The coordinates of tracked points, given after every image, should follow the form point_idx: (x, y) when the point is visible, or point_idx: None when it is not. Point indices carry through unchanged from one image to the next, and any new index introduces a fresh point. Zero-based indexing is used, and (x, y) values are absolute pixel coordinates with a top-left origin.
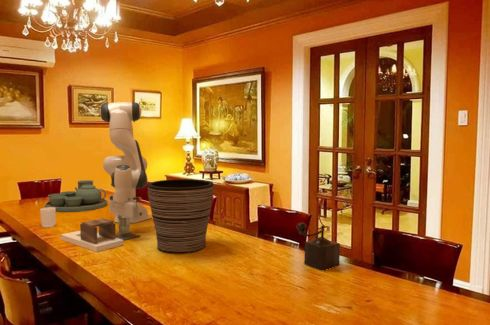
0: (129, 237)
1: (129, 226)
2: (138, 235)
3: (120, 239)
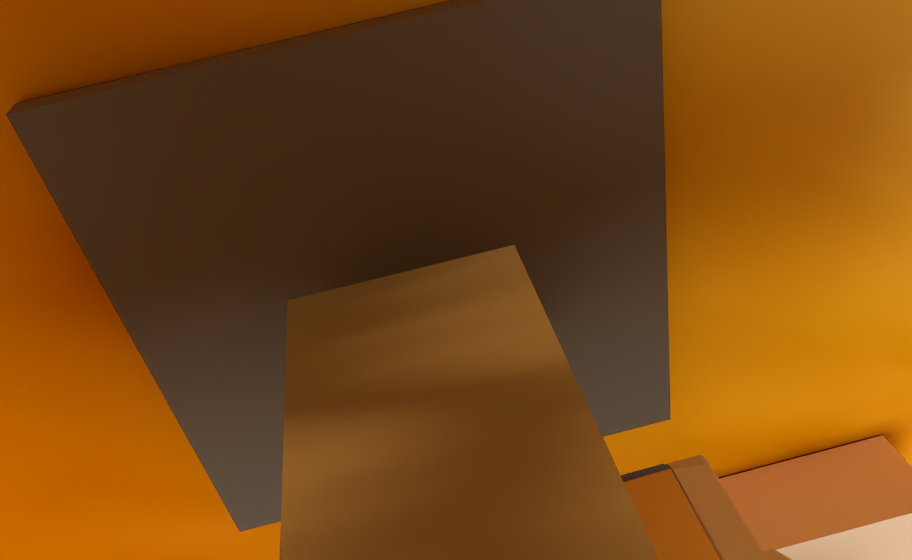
0: (615, 256)
1: (570, 373)
2: (617, 2)
3: (877, 529)
